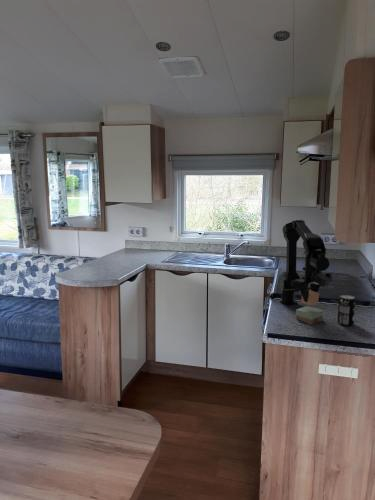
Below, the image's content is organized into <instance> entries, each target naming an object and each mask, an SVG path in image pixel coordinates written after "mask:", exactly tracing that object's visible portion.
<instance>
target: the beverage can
mask: <svg viewBox="0 0 375 500" xmlns="http://www.w3.org/2000/svg"><path fill="white" fill-rule="evenodd" d="M356 302H357V301H356V299H355V296H353V295H350V294H342V295H341V294H340V297H339V299H338V306H337V309H338V310H337V320H336V321H337V323H338V324H339V325H340V326H344V327H351V326H353V325H354V323H355V314H356V304H357V303H356Z"/></svg>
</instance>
